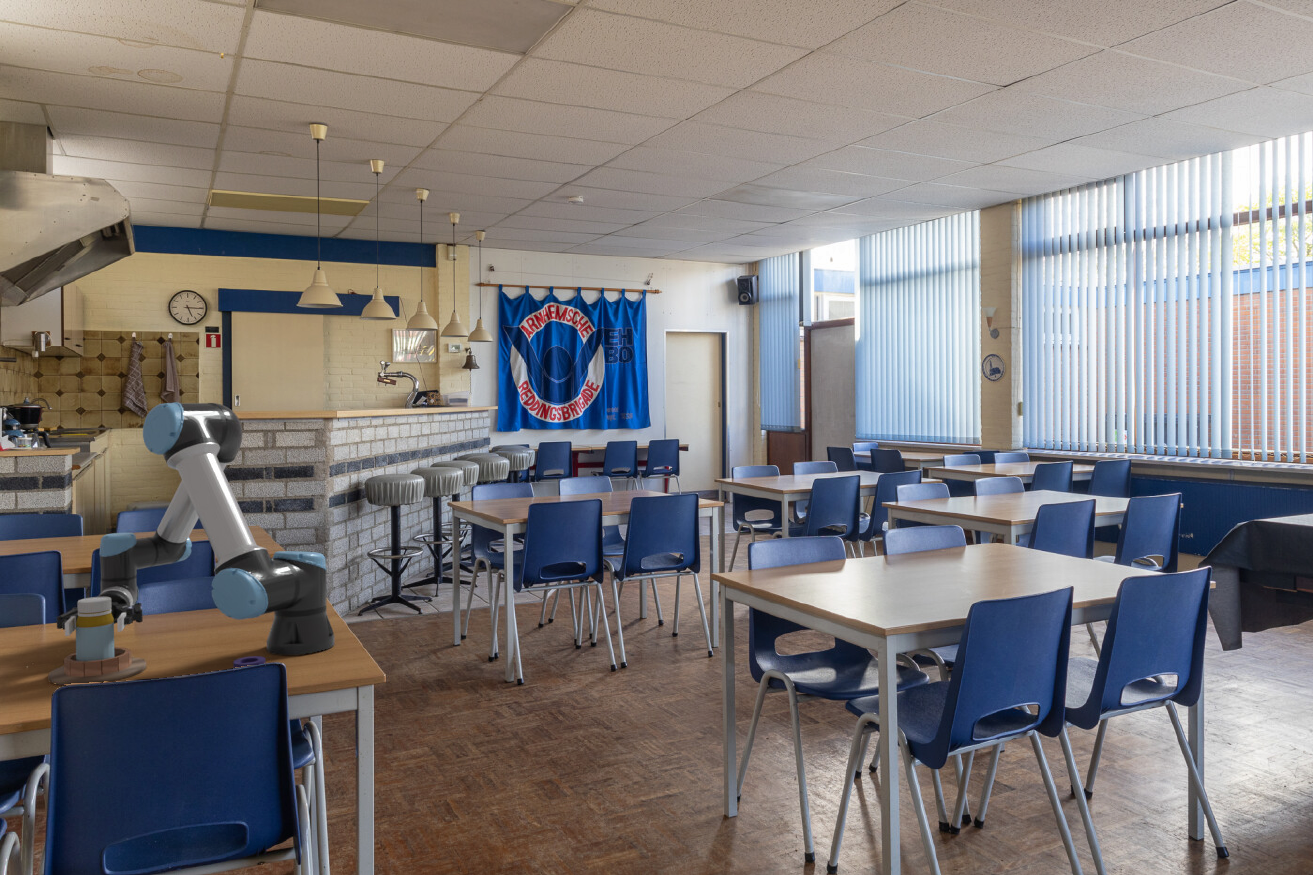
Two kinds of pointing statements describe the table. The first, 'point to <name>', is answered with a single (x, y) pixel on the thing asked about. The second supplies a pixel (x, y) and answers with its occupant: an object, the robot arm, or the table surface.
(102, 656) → the bottle
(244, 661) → the lever
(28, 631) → the table surface
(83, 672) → the bottle holder
